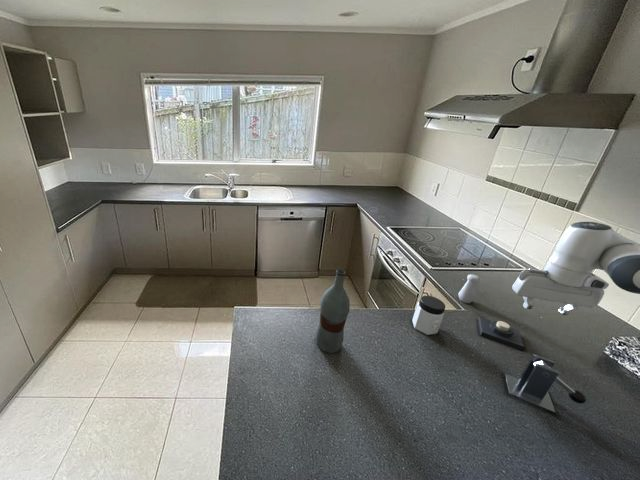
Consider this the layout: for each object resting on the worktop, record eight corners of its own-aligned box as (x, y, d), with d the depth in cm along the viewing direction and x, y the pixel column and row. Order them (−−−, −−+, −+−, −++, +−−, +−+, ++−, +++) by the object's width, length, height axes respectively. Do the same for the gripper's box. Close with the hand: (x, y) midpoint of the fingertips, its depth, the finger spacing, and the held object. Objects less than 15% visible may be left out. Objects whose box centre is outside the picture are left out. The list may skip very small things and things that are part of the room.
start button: (507, 327, 105) (509, 323, 104) (508, 332, 102) (510, 329, 101) (495, 323, 106) (496, 319, 106) (496, 328, 104) (498, 325, 103)
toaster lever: (574, 398, 78) (587, 394, 77) (578, 407, 76) (592, 404, 74) (531, 362, 81) (542, 357, 80) (533, 369, 79) (545, 365, 77)
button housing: (516, 334, 106) (520, 325, 105) (521, 351, 99) (526, 342, 97) (477, 321, 112) (481, 313, 111) (479, 336, 104) (483, 328, 103)
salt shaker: (458, 302, 123) (468, 277, 118) (455, 295, 128) (464, 271, 123) (474, 306, 121) (484, 281, 116) (470, 298, 126) (480, 274, 121)
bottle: (309, 344, 98) (320, 270, 87) (322, 330, 104) (334, 260, 93) (333, 359, 92) (348, 283, 81) (346, 344, 98) (361, 271, 87)
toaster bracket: (546, 393, 84) (565, 361, 79) (553, 415, 78) (575, 383, 73) (503, 376, 89) (519, 345, 84) (507, 395, 82) (525, 364, 78)
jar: (422, 336, 103) (431, 310, 99) (406, 321, 111) (414, 296, 106) (442, 333, 105) (452, 307, 101) (425, 318, 112) (434, 294, 108)
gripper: (530, 272, 82) (511, 310, 88) (616, 285, 78) (591, 324, 83) (517, 262, 88) (501, 298, 93) (597, 273, 83) (575, 310, 89)
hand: (544, 310), depth 88 cm, fingers open, 8 cm apart
